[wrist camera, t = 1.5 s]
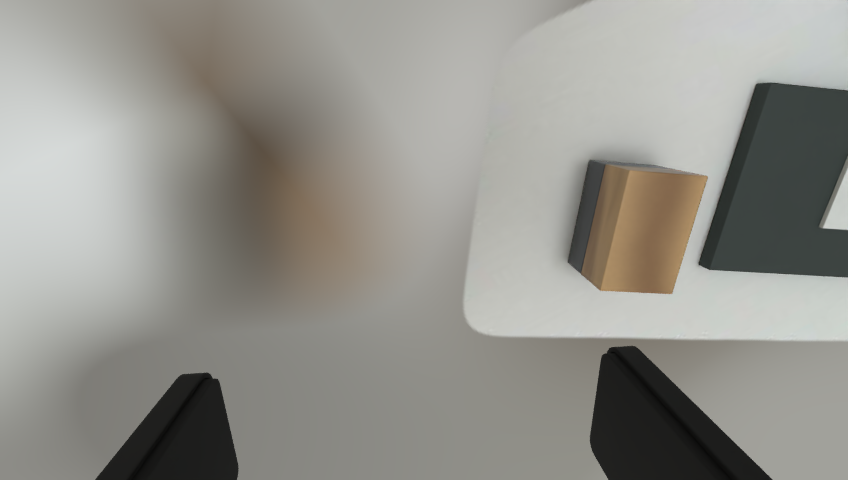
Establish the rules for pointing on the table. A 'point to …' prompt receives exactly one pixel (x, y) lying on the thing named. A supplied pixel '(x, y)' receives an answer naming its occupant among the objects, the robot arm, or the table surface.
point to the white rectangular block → (838, 204)
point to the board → (783, 186)
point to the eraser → (634, 225)
